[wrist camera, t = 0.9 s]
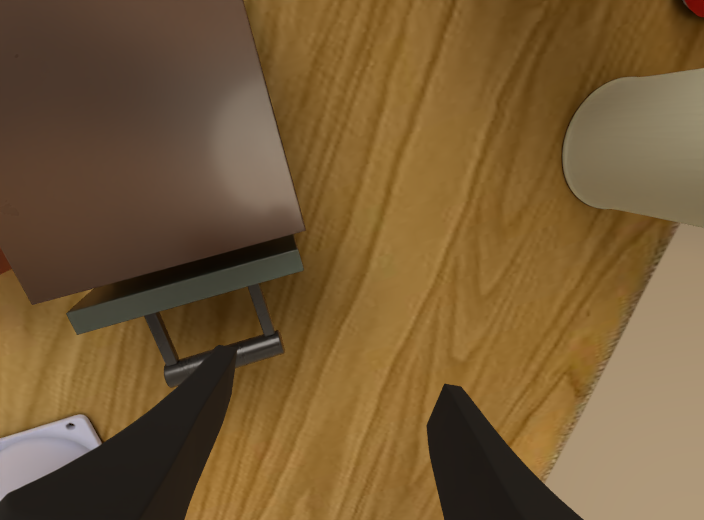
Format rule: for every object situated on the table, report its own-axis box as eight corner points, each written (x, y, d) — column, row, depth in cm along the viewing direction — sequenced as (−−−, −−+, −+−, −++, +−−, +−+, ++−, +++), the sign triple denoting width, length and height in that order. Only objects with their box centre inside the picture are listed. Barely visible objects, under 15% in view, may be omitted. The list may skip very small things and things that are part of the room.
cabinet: (295, 205, 26) (306, 230, 19) (97, 257, 25) (31, 305, 18) (222, -58, 21) (202, -151, 14) (-29, -13, 20) (-187, -92, 13)
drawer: (315, 312, 28) (328, 354, 22) (149, 361, 26) (120, 419, 21) (229, 8, 21) (217, -34, 16) (6, 52, 20) (-87, 23, 15)
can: (558, 217, 30) (731, 265, 19) (563, 85, 27) (771, 50, 16) (663, 197, 32) (881, 232, 20) (678, 70, 29) (943, 28, 18)
